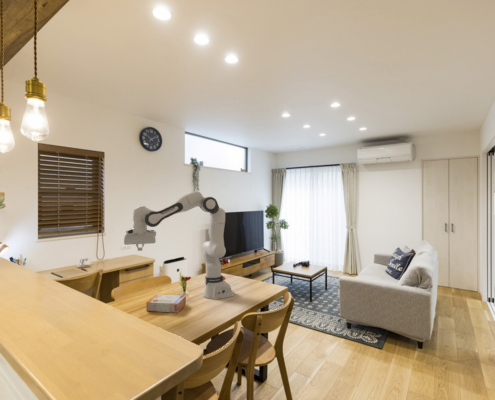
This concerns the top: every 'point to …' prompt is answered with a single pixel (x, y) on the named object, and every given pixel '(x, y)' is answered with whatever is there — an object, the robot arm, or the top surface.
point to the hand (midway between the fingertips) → (140, 250)
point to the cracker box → (166, 303)
